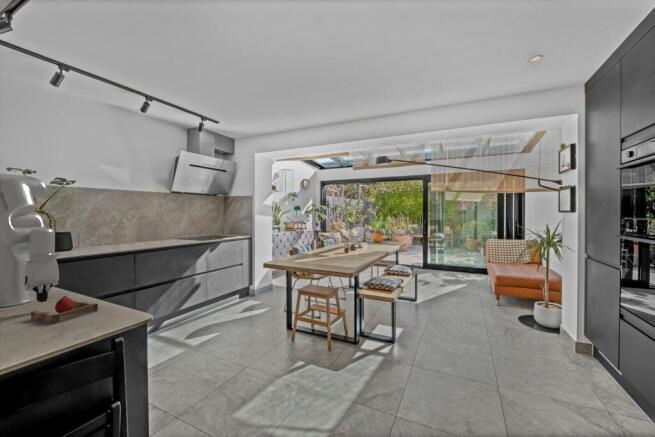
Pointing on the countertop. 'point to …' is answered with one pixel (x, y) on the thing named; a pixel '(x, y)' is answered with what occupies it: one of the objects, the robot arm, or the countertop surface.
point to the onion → (64, 305)
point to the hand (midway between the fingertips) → (42, 301)
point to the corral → (65, 313)
